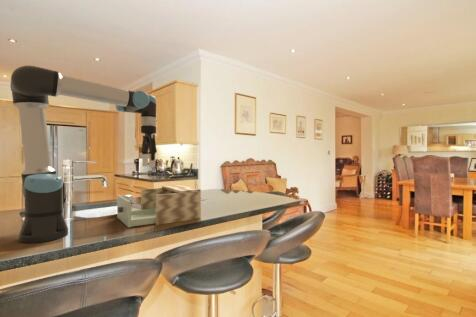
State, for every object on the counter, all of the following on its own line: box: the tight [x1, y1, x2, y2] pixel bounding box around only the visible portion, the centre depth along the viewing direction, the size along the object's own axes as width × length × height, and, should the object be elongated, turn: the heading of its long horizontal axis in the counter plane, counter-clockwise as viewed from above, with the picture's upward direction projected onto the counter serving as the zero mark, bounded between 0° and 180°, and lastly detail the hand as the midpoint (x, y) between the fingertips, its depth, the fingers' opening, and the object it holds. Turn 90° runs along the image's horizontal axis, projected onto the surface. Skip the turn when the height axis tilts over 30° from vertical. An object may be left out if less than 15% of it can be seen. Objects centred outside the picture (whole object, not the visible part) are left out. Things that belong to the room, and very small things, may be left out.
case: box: [140, 184, 202, 226], centre depth 135 cm, size 21×25×14 cm
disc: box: [119, 193, 134, 202], centre depth 143 cm, size 8×8×2 cm
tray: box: [116, 194, 156, 228], centre depth 128 cm, size 23×23×11 cm
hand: (148, 166), depth 142 cm, fingers open, 13 cm apart
